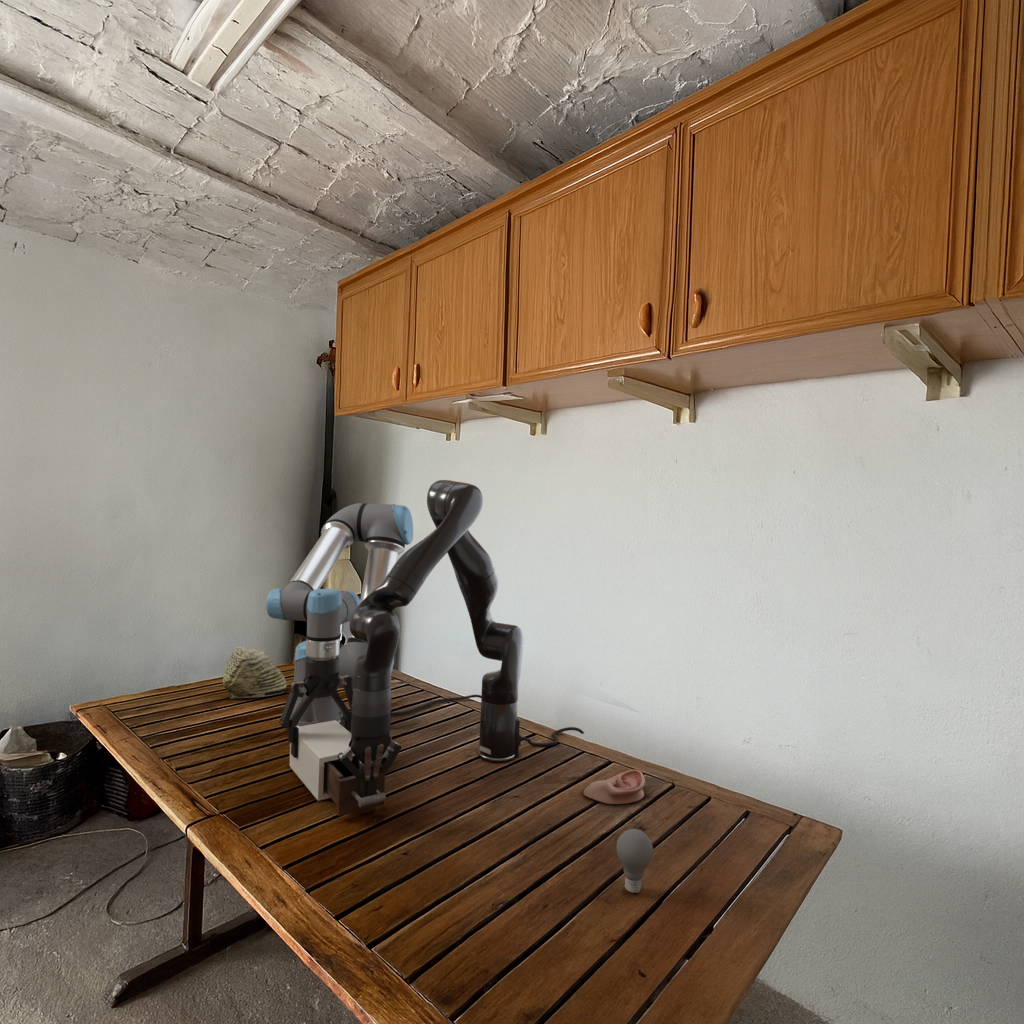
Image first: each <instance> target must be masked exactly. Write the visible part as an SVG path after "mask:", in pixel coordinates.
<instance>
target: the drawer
mask: <svg viewBox="0 0 1024 1024" xmlns="http://www.w3.org/2000/svg"><path fill="white" fill-rule="evenodd" d="M352 757H353V760H352V761H351V762H352V763H353V764H354V766H355V767H356V768H357V769H358V770H360V765H359V760H358V759H357V757H356V756H352ZM385 785H386V773H381V774H380V775H379V776H378V778H377V791H376V793H374V795H371V796H367V797H365V796H364V795H363V794H362V793H361V779H357V778H356V777H355V776H354V775H353V774H352V773H351V772H350V771H349V770H348V769H347V767H346V766H345V765H344V764H343V763H342V762H341V761H340V760H339V759H338V760H333V761H328V762H324V784H323V789H324V791H325V792H326V793H327V794H328V795H329V796H330V798H329V799H331V800H332V801H333V802H334V804H335V805H336V815H337V816H338V817H341V816H345V815H349V814H353V813H356V812H361V811H363V810H364V811H365V810H368V809H371V808H375V807H378V806H382V805H385V801H386V800H387V795H386V793H385V789H386V787H385Z"/></svg>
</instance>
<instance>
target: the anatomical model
mask: <svg viewBox="0 0 1024 1024" xmlns="http://www.w3.org/2000/svg"><path fill="white" fill-rule="evenodd" d="M645 785H646V779H645V775H644V773H643V772H642V771H641V770H639V769H630V770H626V771H623V772H620V773H618V774H616V775H613V776H612V777H609V778H607V779H604V780H597V781H595V780H594V781H593V782H591V783H589V784H588V785H587V786H586V787H585V788H584V790H583V793H582V794H583V796H585V797H586V798H588V799H591V800H594V801H596V802H600V803H603V804H607V805H624V804H630V803H636V802H638V801H640V800H642V799H643V798H644V796H645V792H644V790H643V789H644V787H645Z"/></svg>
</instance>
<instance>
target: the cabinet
mask: <svg viewBox="0 0 1024 1024" xmlns="http://www.w3.org/2000/svg"><path fill="white" fill-rule="evenodd" d="M298 728H299V736H298V757H297V758H294V757H293V756H292V755H291V743H289V767H290V769H291V770H292V771H293V772H294V773H295V775H296V776H297V777H298V779H299V780H300V781H301V782H302V784H304V786H305V788H307V789H308V791H309V792H310V793H311V795H313V797H314V798H315V800H316V801H317V802H318V801H323V800H327V799H331V798H330V796H329V795H328V794H327V793H326V792H325V791H324V789H323V784H324V762H328V761H333V760H338V759H339V758H338V754H339V753H341V752H342V753H344V752H345V751H346V750H347V749H348V748H349V742H350V740H351V731H350V732H349V731H348V730H346V729H345V728H344V727H343V726H342V725H341V724H339V723H338V722H337V721H336V720H334V721H328V722H323V723H317V724H311V725H305V726H300V727H298ZM352 756H355V755H354V754H353V753H352Z"/></svg>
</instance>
